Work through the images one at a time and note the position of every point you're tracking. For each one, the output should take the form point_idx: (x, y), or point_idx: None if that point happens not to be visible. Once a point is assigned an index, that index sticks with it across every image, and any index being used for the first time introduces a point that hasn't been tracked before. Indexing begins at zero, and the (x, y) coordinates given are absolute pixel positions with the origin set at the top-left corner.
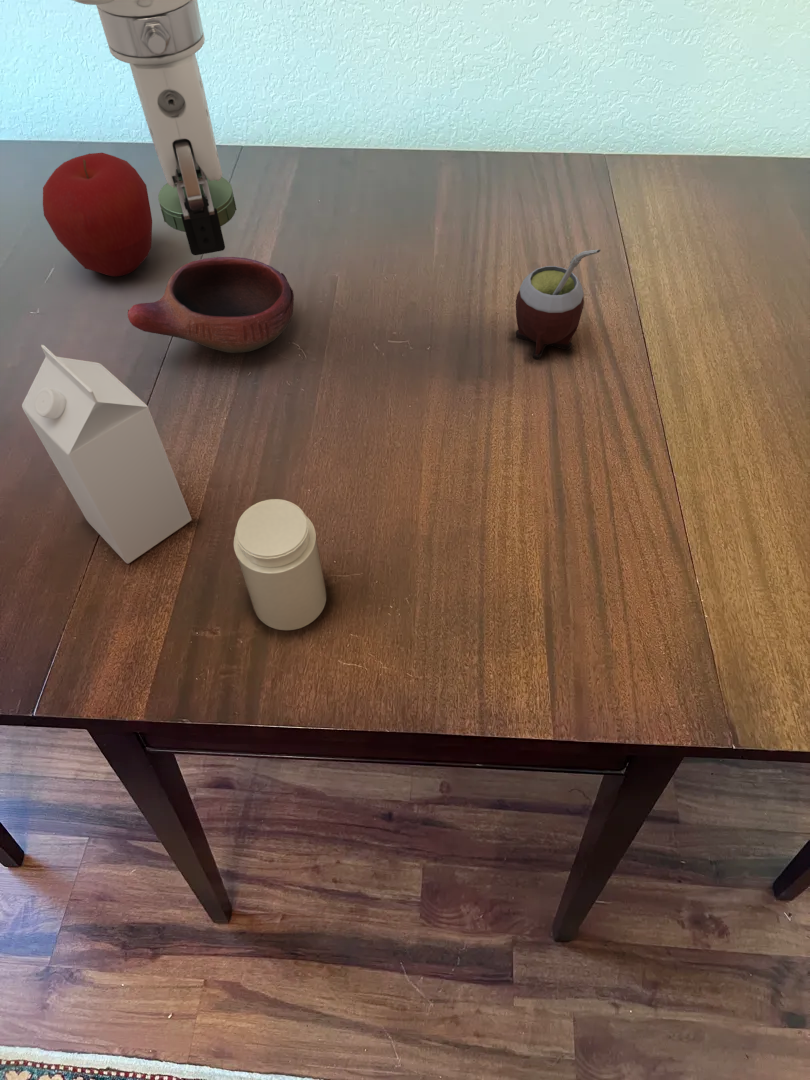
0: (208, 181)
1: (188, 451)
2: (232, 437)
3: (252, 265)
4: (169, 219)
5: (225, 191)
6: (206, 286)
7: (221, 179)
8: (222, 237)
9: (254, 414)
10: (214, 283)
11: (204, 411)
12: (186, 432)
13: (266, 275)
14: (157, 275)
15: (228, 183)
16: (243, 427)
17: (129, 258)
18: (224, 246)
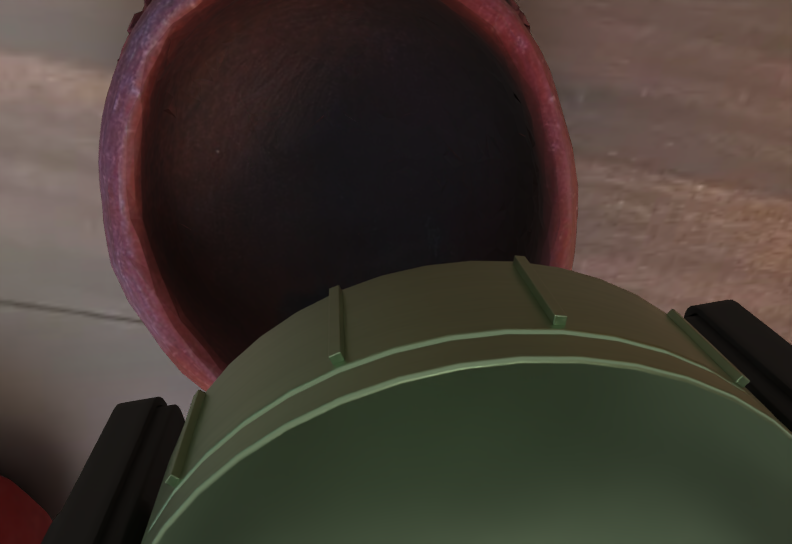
0: None
1: (783, 277)
2: (777, 166)
3: (146, 102)
4: None
5: (551, 429)
6: (205, 281)
7: (269, 485)
8: (777, 340)
9: (711, 102)
10: (184, 253)
11: (654, 244)
12: (716, 285)
13: (182, 37)
14: (18, 411)
15: (372, 406)
16: (751, 135)
17: (30, 524)
18: (739, 306)
